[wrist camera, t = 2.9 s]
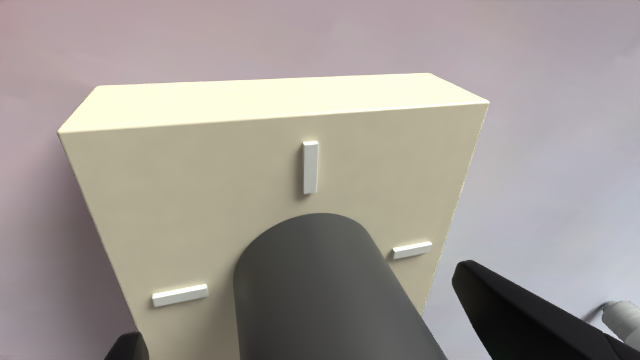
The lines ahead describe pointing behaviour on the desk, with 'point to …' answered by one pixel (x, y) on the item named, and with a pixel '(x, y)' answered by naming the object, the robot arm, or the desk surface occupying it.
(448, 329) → the desk surface
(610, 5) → the desk surface
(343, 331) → the timer knob
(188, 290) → the panel
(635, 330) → the lightbulb
